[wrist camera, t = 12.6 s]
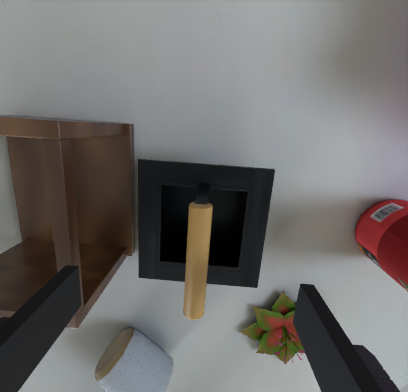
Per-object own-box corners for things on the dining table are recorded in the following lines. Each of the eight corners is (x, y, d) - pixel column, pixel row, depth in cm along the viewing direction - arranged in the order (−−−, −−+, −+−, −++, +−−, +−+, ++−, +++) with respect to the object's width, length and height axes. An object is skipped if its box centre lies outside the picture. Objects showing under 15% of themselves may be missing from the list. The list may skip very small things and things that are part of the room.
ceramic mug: (136, 313, 35) (114, 364, 28) (178, 346, 36) (168, 402, 29) (94, 352, 38) (64, 408, 30) (134, 381, 39) (115, 441, 32)
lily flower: (284, 371, 37) (293, 404, 32) (223, 328, 35) (225, 357, 31) (344, 322, 34) (363, 351, 30) (281, 273, 32) (292, 297, 28)
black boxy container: (154, 246, 32) (111, 332, 19) (155, 151, 29) (103, 173, 15) (248, 254, 32) (272, 347, 18) (260, 159, 28) (302, 188, 15)
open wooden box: (29, 242, 33) (-85, 313, 20) (11, 115, 28) (-150, 105, 16) (134, 251, 32) (84, 329, 20) (133, 124, 28) (67, 121, 15)
